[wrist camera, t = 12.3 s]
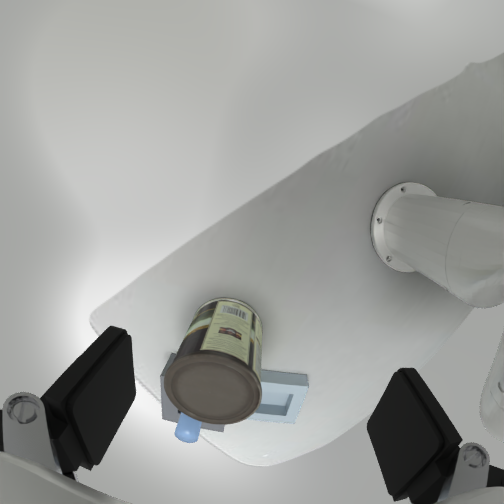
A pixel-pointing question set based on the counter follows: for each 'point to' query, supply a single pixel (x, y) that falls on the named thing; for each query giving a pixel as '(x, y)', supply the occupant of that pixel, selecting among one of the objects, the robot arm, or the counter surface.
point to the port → (171, 411)
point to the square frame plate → (281, 397)
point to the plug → (187, 429)
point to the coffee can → (218, 364)
